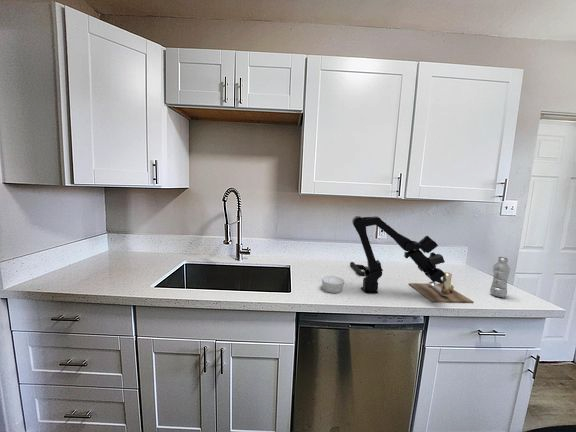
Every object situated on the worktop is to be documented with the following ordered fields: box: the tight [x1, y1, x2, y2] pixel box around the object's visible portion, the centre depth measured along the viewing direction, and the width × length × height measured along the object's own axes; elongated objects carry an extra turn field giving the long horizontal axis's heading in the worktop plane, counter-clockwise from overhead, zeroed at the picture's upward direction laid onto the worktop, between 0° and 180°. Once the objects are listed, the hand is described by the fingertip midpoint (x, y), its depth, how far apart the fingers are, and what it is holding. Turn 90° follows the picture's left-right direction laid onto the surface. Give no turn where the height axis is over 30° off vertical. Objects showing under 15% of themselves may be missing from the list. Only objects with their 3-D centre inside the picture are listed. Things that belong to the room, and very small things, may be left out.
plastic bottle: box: [489, 256, 511, 299], centre depth 123 cm, size 6×7×20 cm
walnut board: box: [408, 282, 475, 304], centre depth 126 cm, size 20×21×1 cm
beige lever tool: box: [427, 271, 453, 296], centre depth 125 cm, size 16×4×11 cm, turn 175°
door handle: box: [349, 261, 368, 277], centre depth 156 cm, size 3×20×16 cm
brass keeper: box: [441, 284, 455, 293], centre depth 125 cm, size 7×3×3 cm, turn 117°
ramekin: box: [321, 275, 345, 294], centre depth 125 cm, size 11×11×5 cm
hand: (442, 283), depth 119 cm, fingers closed, pressing on beige lever tool
